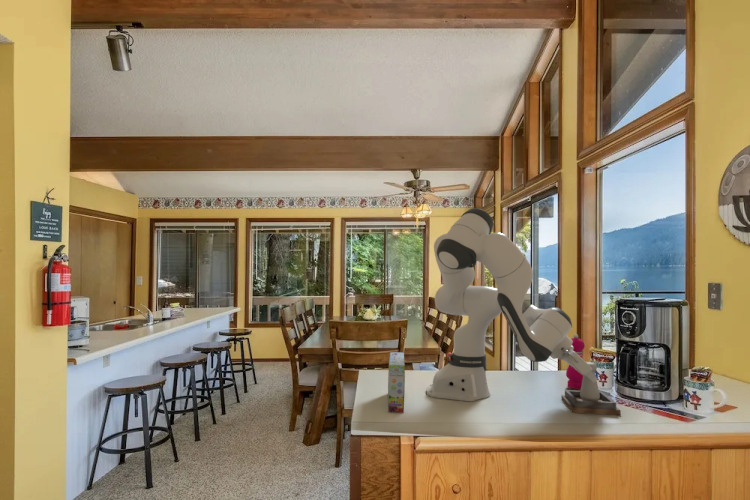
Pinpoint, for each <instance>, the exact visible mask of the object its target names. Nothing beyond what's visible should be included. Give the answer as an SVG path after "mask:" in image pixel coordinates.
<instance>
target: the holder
mask: <svg viewBox="0 0 750 500" xmlns="http://www.w3.org/2000/svg"><path fill="white" fill-rule="evenodd" d="M580 391H581V390H571V389H570V390H569V389H565V390H564V395H563V394H562V395H561V401H562V402H563V404H565V406H566V407H567V408H568V409H569V411H570V412H571V413H573V414H590V415H591V414H593V415H611V416H612V415H614V416H621V412H622V411H621V409H619V408H618V407H617V402H615V401H614V399H612V398H611V397H610V396H608V395H607V394H606V393H605V392H603V391H599V394H600V398H599V400H598V401H583V400H582V398H581V397H580Z"/></svg>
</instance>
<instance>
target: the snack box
mask: <svg viewBox="0 0 750 500" xmlns="http://www.w3.org/2000/svg"><path fill="white" fill-rule="evenodd" d="M405 369H406V364H405V353H404V352H397V351H395V352H389V360H388V377H387V381H388V382H387V407H388V408H387V413H399V414H404V411H405V394H406V393H405V392H406V391H405V390H406V387H405V383H406V381H405V380H406V379H405V378H406V370H405Z"/></svg>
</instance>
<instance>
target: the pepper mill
mask: <svg viewBox="0 0 750 500" xmlns="http://www.w3.org/2000/svg"><path fill="white" fill-rule="evenodd" d="M570 339H571V340H572V341H573V343H572V346H573V347H574V348H573V351H574V352H576V353H577V354H578V355H579V356H580V357H581V358H582V359H583V356H584V351H583V350H584V349H585V342H584V341H583V339H581V338H579V335H578V334H577V333H574V334H573V336H572V338H571V337H570ZM565 376H566V378H567V379H568V380H567V387H569V388H571V389H579V390H581V386H582V380H583V375H582V374H580V373H579V372H578V371H577V370H575V369H574V368H573V367H572V366H570V365H569V364H568V366H567V369H566V373H565Z"/></svg>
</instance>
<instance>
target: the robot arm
mask: <svg viewBox="0 0 750 500" xmlns="http://www.w3.org/2000/svg"><path fill="white" fill-rule="evenodd" d="M493 228H494V220H493V218H492V216H491V215H490V214H489V213H488V212H487V211H485V210H484V209H482V208H479V207H472V208H469V209H468V210H467V211H464V213H462V215H461V216H460V217H459V218H458V220H456V221H455V222H454V223H453V225H451V227H450V229H449V230H448V232H447V233H443V234H442V235H440V236H438V237H436V239H435V241H434V244H433V250H434V256H435V261H436V264H437V268H438V269H439V272H440V275H441V277H442V280H443V284H442V286H440V287H439V288H438V289H437V291H436V292H435V294H434V295H435V296H434V305H435V308H437V310H438V311H439V312H441V313H444V314H447V315H453V316H466V317H468V320H467V323H465V324H463V325H461V326H459V327H458V328H456V330H455V331H454V333H453V353H452V352H447V353H446V358H447V364H446V365H445V366H443V367H442V368H440V369H439V370H438V371H436V373H435V374H434V376H433V379H432V383H431V384H429V385H428V386H427V387H426V394H427V396H429V397H431V398H438V399H445V400H457V401H463V402H475V401H478V400H482V399H485V398H486V399H487V398H488V397H489V396H490V395H491V393H490V390H489V385H488V380H487V374H486V373H487V366H488V365H487V355H486V350H485V349H486V335H487V334H486V333H487V330H488V328H489V326H490V325H491V323H492V321H493V320H494V319H495V318H497V317H498V316H500V315H501V313H502V314H503V316H504V319H505V320H506V322H507V324H508V326H509V328H510V330H511V333H512V334H513V335H514V337H515V340H516V342H517V343H516V344H517V347H518V349H519V352H521V354H522V355H523V356H524V357H525V358H527V359H528V360H529V361H531V362H534V363H535V362H536V363H541V362H547V360H548V359H549V358H552V359H558V360H559V361H562V360H563V361H564V362H565V363H567V364H568V366H569V365H570V366H572V367H573V368H574V369H575V370H577V371H578V372H579V373H580V374H582V375H583V376H587V377H588V378H589V379H590V380H591V381H592V382H596V381H597V382H598V376H595V375H596V374H595V375H594V374H593V373H592V372H591V371H592V368H591V366H590V365H589V364H587V363H586V362H587V361H585V360H584V359H583V357H582V358H581V357H580V356H579V355H578V354H577V353H576V352H574V351H573V348H574V347H573V346H572V343H573V341H572V340H571V337H569V336H568V334H569V333H570V331H571V329H572V328H573V323H572V320H571V317H570V316H569V315H568V314H567V313H566V312H565V311H564V310H562V308H559V307H549V308H539V307H537V306H535V305H534V304H529V305H527V306H526V307H525V308H524V309H523V304H524V300H525V297H526V295H527V293H528V291H529V289H530V287H531V285H532V282H533V277H534V275H533V274H534V272H533V268H532V266H531V264H530V262H529V261H528V259H527V258H526V257H525V255H524V253H523V252H522V251H521V250H520V249H519V248H518V246H517V245H516V244H515V243H514V242H513V241H512V240H511V239H510V238H509V237H508V236H507V235H506V234H504V233H501V232H492V231H493ZM477 262H479V263H481V264H482V265H484V267H486V269H487V270H488V272H489V273H490V275H491V276H492V278H493V279H494V281H495V284H496V287H497V288H496V287H493V286H487V285H472V283H474V280H475V278H476V271H475V266H476V265H477Z"/></svg>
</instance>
